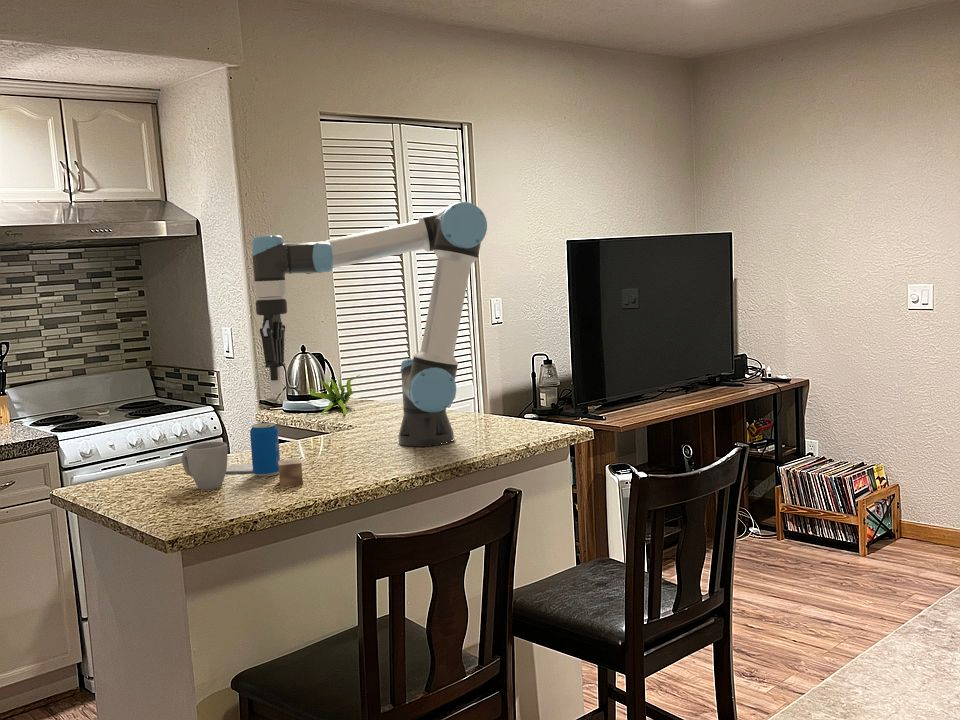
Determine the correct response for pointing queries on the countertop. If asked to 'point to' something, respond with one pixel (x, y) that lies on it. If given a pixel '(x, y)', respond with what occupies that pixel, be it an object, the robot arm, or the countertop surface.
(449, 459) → the countertop surface
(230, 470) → the tile
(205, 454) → the mug
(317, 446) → the countertop surface
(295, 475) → the walnut block
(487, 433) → the countertop surface
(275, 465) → the beverage can
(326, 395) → the decorative plant
